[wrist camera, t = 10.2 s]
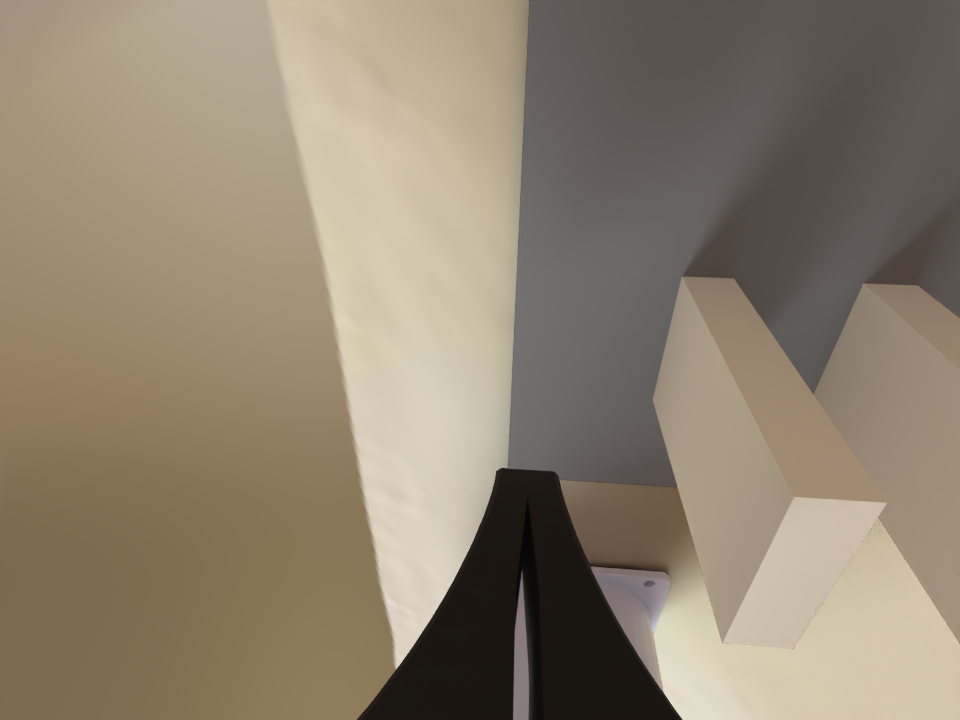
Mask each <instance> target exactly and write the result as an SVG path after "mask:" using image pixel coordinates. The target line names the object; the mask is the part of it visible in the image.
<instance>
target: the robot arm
mask: <svg viewBox="0 0 960 720" xmlns="http://www.w3.org/2000/svg"><path fill="white" fill-rule="evenodd" d="M669 587H670V579H669V576H668V575H667V574H666V573H664V572H658V571H644V570H630V569H617V568H603V567H590V565H589V563H588V561H587V558H586V556H585V554H584V551H583V549H582V547H581V544H580V542H579V539H578V537H577V535H576V532H575V529H574V527H573V524H572V522H571V519H570V516H569V513H568V510H567V507H566V504H565V501H564V497H563V494H562V490H561V486H560V482H559V476H558V475H557V474H556V473H555V472H554V471H540V470H524V469H508V468H501V469H499V470H498V471H496V477H495V482H494V486H493V490H492V494H491V497H490V500H489V503H488V506H487V509H486V511H485V514H484V517H483V519H482V522H481V524H480V526H479V529H478V531H477V533H476V536H475V538H474V541H473V543H472V545H471V547H470V549H469V551H468V553H467V555H466V557H465V559H464V561H463V563H462V565H461V567H460V569H459V571H458V573H457V575H456V577H455V579H454V581H453V583H452V584H451V586H450V588H449V590H448V592H447V593H446V595H445V597H444V599H443V600H442V602H441V604H440V605H439V607H438V609H437V610H436V612H435V614H434V615H433V617H432V618H431V620H430V621H429V623H428V625H427V626H426V628H425V629H424V631H423V632H422V634H421V635H420V637H419V638H418V640H417V641H416V643H415V644H414V646H413V647H412V649H411V650H410V652H409V653H408V654H407V656H406V657H405V659H404V660H403V661H402V663H401V664H400V665H399V667H398V668H397V669H396V671H395V672H394V673H393V675H392V676H391V677H390V679H389V680H388V681H387V683H386V684H385V685H384V687H383V688H382V689H381V691H380V692H379V693H378V695H377V696H376V697H375V698H374V700H373V701H372V702H371V704H370V705H369V706H368V708H366V710H365V711H364V712H363V713H362V714H361V716H360V717H359V718H358V719H357V720H682V718H681V717H680V716H679V714H678V713H677V712H676V710H675V709H674V708H673V706H672V705H671V703H670V702H669V700H668V699H667V697H666V696H665V694H664V692H663V686H662V681H661V676H660V670H659V665H658V659H657V654H656V648H655V643H654V637H653V633H654V630H655V627H656V624H657V621H658V618H659V616H660V613H661V610H662V607H663V604H664V601H665V598H666V595H667V592H668V590H669Z"/></svg>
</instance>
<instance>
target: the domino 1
mask: <svg viewBox="0 0 960 720" xmlns="http://www.w3.org/2000/svg"><path fill="white" fill-rule="evenodd" d="M653 403H654V407H655V410H656V414H657V417H658V421H659V424H660V428H661V431H662V435H663V438H664V442H665V445H666V449H667V452H668V455H669V459H670V462H671V466H672V469H673V473H674V476H675V480H676V483H677V487H678V490H679V494H680V497H681V501H682V504H683V508H684V511H685V515H686V518H687V522H688V525H689V529H690V532H691V536H692V539H693V543H694V546H695V550H696V553H697V557H698V560H699V564H700V567H701V571H702V574H703V578H704V581H705V585H706V588H707V592H708V595H709V599H710V602H711V606H712V609H713V613H714V616H715V620H716V623H717V627H718V630H719V634H720V637H721V640H722V643H726V644H739V645H751V646H763V647H776V648H788V649H794V648H795V646H796V644H797V643H798V641H799V640H800V638H801V637H802V635H803V634H804V632H805V630H806V629H807V627H808V626H809V624H810V623H811V621H812V619H813V618H814V616H815V615H816V613H817V612H818V610H819V609H820V607H821V605H822V604H823V602H824V601H825V599H826V598H827V596H828V595H829V593H830V591H831V590H832V588H833V587H834V585H835V584H836V582H837V581H838V579H839V577H840V576H841V574H842V573H843V571H844V570H845V568H846V567H847V565H848V563H849V562H850V560H851V559H852V557H853V556H854V554H855V552H856V551H857V549H858V548H859V546H860V545H861V543H862V542H863V540H864V538H865V537H866V535H867V534H868V532H869V531H870V529H871V528H872V526H873V524H874V523H875V521H876V520H877V518H878V517H879V515H880V514H881V512H882V510H883V509H884V507H885V506H886V504H887V502H886V500H885V499H884V497H883V496H882V494H881V493H880V491H879V490H878V489H877V487H876V486H875V484H874V483H873V481H872V480H871V478H870V477H869V475H868V474H867V472H866V471H865V470H864V468H863V467H862V465H861V464H860V462H859V461H858V459H857V458H856V456H855V455H854V453H853V452H852V450H851V449H850V448H849V446H848V445H847V443H846V442H845V440H844V439H843V437H842V436H841V434H840V433H839V431H838V430H837V429H836V427H835V426H834V424H833V423H832V421H831V420H830V418H829V417H828V415H827V414H826V412H825V411H824V410H823V408H822V407H821V405H820V404H819V402H818V401H817V399H816V398H815V396H814V395H813V393H812V392H811V391H810V389H809V388H808V386H807V385H806V383H805V382H804V380H803V379H802V377H801V376H800V374H799V373H798V372H797V370H796V369H795V367H794V366H793V364H792V363H791V361H790V360H789V358H788V357H787V355H786V354H785V352H784V351H783V350H782V348H781V347H780V345H779V344H778V342H777V341H776V339H775V338H774V336H773V335H772V333H771V332H770V331H769V329H768V328H767V326H766V325H765V323H764V322H763V320H762V319H761V317H760V316H759V314H758V313H757V312H756V310H755V309H754V307H753V306H752V304H751V303H750V301H749V300H748V298H747V297H746V295H745V294H744V293H743V291H742V290H741V288H740V287H739V285H738V284H737V282H736V281H735V279H734V278H709V277H683V276H682V278H681V282H680V286H679V291H678V295H677V299H676V303H675V307H674V312H673V316H672V320H671V324H670V329H669V333H668V337H667V341H666V345H665V350H664V354H663V358H662V362H661V367H660V371H659V375H658V379H657V383H656V388H655V392H654V396H653Z"/></svg>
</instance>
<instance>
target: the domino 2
mask: <svg viewBox="0 0 960 720" xmlns="http://www.w3.org/2000/svg"><path fill="white" fill-rule="evenodd" d="M813 395H814V396H815V398H816V399H817V401H818V402H819V404H820V405H821V407H822V408H823V410H824V411H825V412H826V414H827V415H828V417H829V418H830V420H831V421H832V423H833V424H834V426H835V427H836V429H837V430H838V431H839V433H840V434H841V436H842V437H843V439H844V440H845V442H846V443H847V445H848V446H849V448H850V449H851V450H852V452H853V453H854V455H855V456H856V458H857V459H858V461H859V462H860V464H861V465H862V467H863V468H864V470H865V471H866V472H867V474H868V475H869V477H870V478H871V480H872V481H873V483H874V484H875V486H876V487H877V489H878V490H879V491H880V493H881V494H882V496H883V497H884V499H885V500H886V502H887V504H886V506H885V507H884V509H883V510H882V512H881V514H880V515H879V517H878V518H879V520H880V521H881V523H882V524H883V526H884V528H885V529H886V531H887V532H888V534H889V535H890V537H891V538H892V540H893V541H894V543H895V544H896V546H897V548H898V549H899V551H900V552H901V554H902V555H903V557H904V558H905V560H906V561H907V563H908V565H909V566H910V568H911V569H912V571H913V572H914V574H915V575H916V577H917V578H918V580H919V582H920V583H921V585H922V586H923V588H924V589H925V591H926V592H927V594H928V595H929V597H930V599H931V600H932V602H933V603H934V605H935V606H936V608H937V609H938V611H939V612H940V614H941V616H942V617H943V619H944V620H945V622H946V623H947V625H948V626H949V628H950V629H951V631H952V633H953V634H954V636H955V637H956V639H957V640H958V642H959V643H960V318H959V317H957V316H956V315H955V314H954V313H952V312H951V311H950V310H948V309H947V308H946V307H945V306H943V305H942V304H941V303H940V302H938V301H937V300H936V299H934V298H933V297H932V296H931V295H929V294H928V293H927V292H925V291H924V290H923V289H922V288H920V287H919V286H918V285H892V284H866V283H863V285H862V288H861V290H860V292H859V294H858V297H857V299H856V301H855V303H854V305H853V308H852V310H851V312H850V314H849V317H848V319H847V321H846V323H845V325H844V328H843V330H842V332H841V334H840V337H839V339H838V341H837V343H836V345H835V348H834V350H833V352H832V354H831V357H830V359H829V361H828V363H827V365H826V368H825V370H824V372H823V374H822V377H821V379H820V381H819V383H818V386H817V388H816V390H815V392H814V394H813Z"/></svg>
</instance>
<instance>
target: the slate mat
mask: <svg viewBox="0 0 960 720" xmlns="http://www.w3.org/2000/svg"><path fill="white" fill-rule="evenodd" d="M682 276H683V277H709V278H734V279H735V281H736V282H737V284H738V285H739V287H740V288H741V290H742V291H743V293H744V294H745V295H746V297H747V298H748V300H749V301H750V303H751V304H752V306H753V307H754V309H755V310H756V312H757V313H758V314H759V316H760V317H761V319H762V320H763V322H764V323H765V325H766V326H767V328H768V329H769V331H770V332H771V333H772V335H773V336H774V338H775V339H776V341H777V342H778V344H779V345H780V347H781V348H782V350H783V351H784V352H785V354H786V355H787V357H788V358H789V360H790V361H791V363H792V364H793V366H794V367H795V369H796V370H797V372H798V373H799V374H800V376H801V377H802V379H803V380H804V382H805V383H806V385H807V386H808V388H809V389H810V391H811V392H812V393H813V394H814V392H815V390H816V388H817V386H818V383H819V381H820V379H821V377H822V374H823V372H824V370H825V368H826V365H827V363H828V361H829V359H830V357H831V354H832V352H833V350H834V348H835V345H836V343H837V341H838V339H839V337H840V334H841V332H842V330H843V328H844V325H845V323H846V321H847V319H848V317H849V314H850V312H851V310H852V308H853V305H854V303H855V301H856V299H857V297H858V294H859V292H860V290H861V288H862V285H863V283H866V284H892V285H918V286H919V287H920V288H922V289H923V290H924V291H925V292H927V293H928V294H929V295H931V296H932V297H933V298H934V299H936V300H937V301H938V302H940V303H941V304H942V305H943V306H945V307H946V308H947V309H948V310H950V311H951V312H952V313H954V314H955V315H956V316H957V317H959V318H960V0H529V22H528V44H527V65H526V87H525V109H524V130H523V152H522V174H521V195H520V217H519V239H518V260H517V282H516V304H515V325H514V347H513V369H512V390H511V412H510V434H509V455H508V469H524V470H540V471H554V472H555V473H556V474H557V475H558V476H559V480H570V481H586V482H602V483H617V484H633V485H649V486H665V487H677V483H676V480H675V476H674V473H673V469H672V466H671V462H670V459H669V455H668V452H667V449H666V445H665V442H664V438H663V435H662V431H661V428H660V424H659V421H658V417H657V414H656V410H655V407H654V403H653V396H654V392H655V388H656V383H657V379H658V375H659V371H660V367H661V362H662V358H663V354H664V350H665V345H666V341H667V337H668V333H669V329H670V324H671V320H672V316H673V312H674V307H675V303H676V299H677V295H678V291H679V286H680V282H681V278H682Z"/></svg>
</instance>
